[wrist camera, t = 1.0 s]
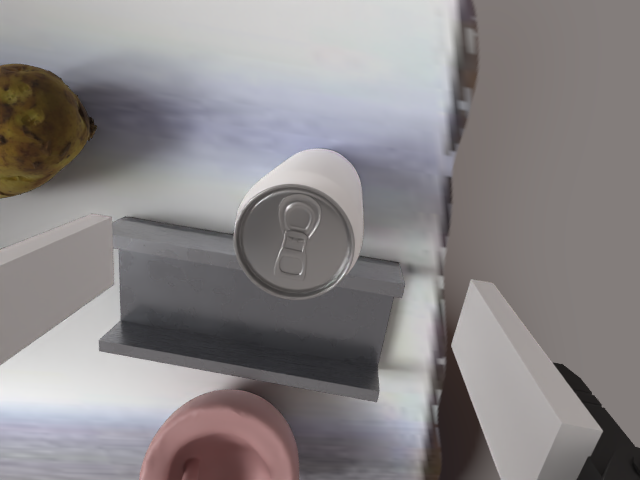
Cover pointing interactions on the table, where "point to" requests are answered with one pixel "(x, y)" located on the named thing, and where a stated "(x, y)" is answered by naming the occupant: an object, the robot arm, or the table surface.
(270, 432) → the mortar and pestle
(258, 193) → the can
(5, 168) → the potato
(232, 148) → the table surface
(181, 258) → the track
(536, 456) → the robot arm
